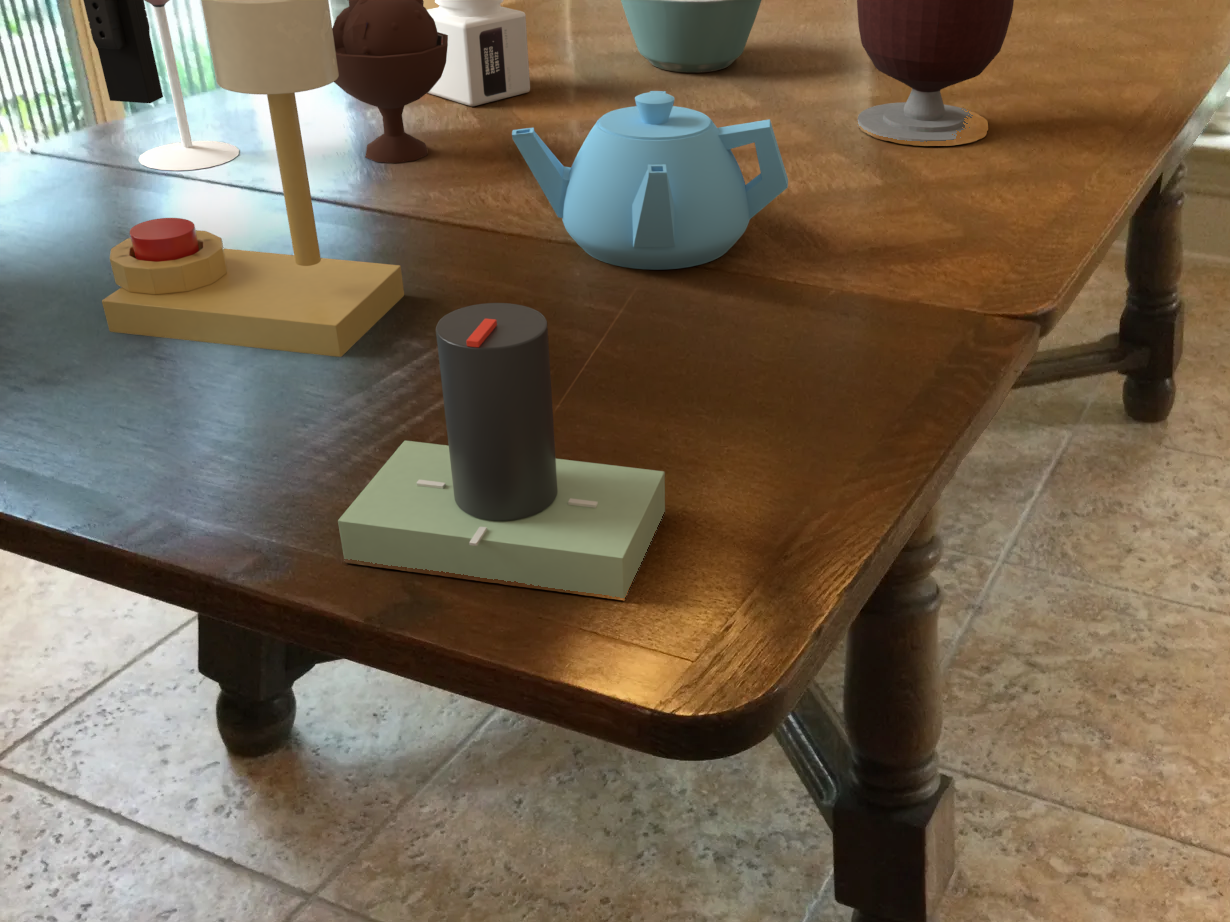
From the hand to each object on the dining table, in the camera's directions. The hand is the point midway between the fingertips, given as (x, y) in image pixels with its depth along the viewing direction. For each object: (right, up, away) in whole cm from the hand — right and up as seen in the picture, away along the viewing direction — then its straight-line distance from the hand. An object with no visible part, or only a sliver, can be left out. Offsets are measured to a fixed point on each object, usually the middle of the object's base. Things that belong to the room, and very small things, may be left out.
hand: (136, 98), depth 83 cm
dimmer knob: (+25, -25, -17) cm, 39 cm away
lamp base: (+5, -12, +7) cm, 15 cm away
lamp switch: (0, -8, +6) cm, 10 cm away
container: (+12, +17, +52) cm, 56 cm away
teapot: (+31, -5, +19) cm, 36 cm away
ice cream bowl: (+8, +7, +35) cm, 37 cm away
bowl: (+33, +24, +63) cm, 75 cm away
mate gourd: (+56, +12, +44) cm, 72 cm away
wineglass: (-10, +6, +34) cm, 36 cm away
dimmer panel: (+25, -27, -15) cm, 40 cm away
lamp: (+9, -9, +4) cm, 14 cm away
